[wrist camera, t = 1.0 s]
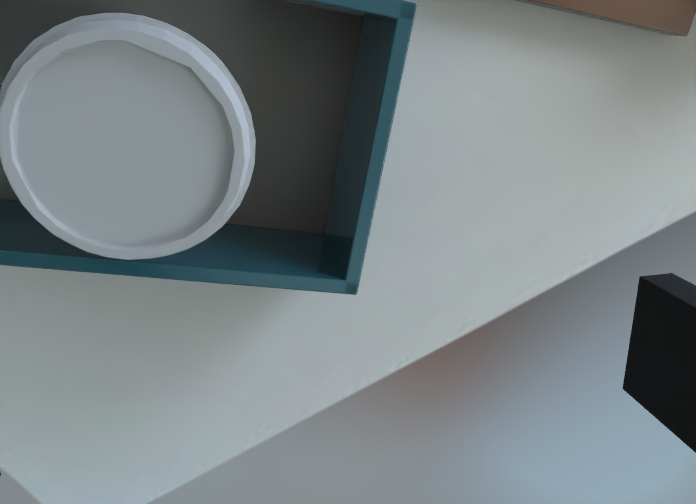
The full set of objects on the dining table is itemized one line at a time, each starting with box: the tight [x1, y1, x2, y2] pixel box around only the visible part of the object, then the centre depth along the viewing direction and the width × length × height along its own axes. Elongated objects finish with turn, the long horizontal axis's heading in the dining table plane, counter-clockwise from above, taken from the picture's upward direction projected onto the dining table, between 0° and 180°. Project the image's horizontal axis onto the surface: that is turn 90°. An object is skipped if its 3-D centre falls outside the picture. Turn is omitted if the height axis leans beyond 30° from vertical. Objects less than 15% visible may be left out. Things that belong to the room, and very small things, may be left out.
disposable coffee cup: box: [0, 13, 256, 260], centre depth 27 cm, size 10×10×12 cm
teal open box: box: [0, 0, 417, 295], centre depth 30 cm, size 15×23×7 cm, turn 80°
